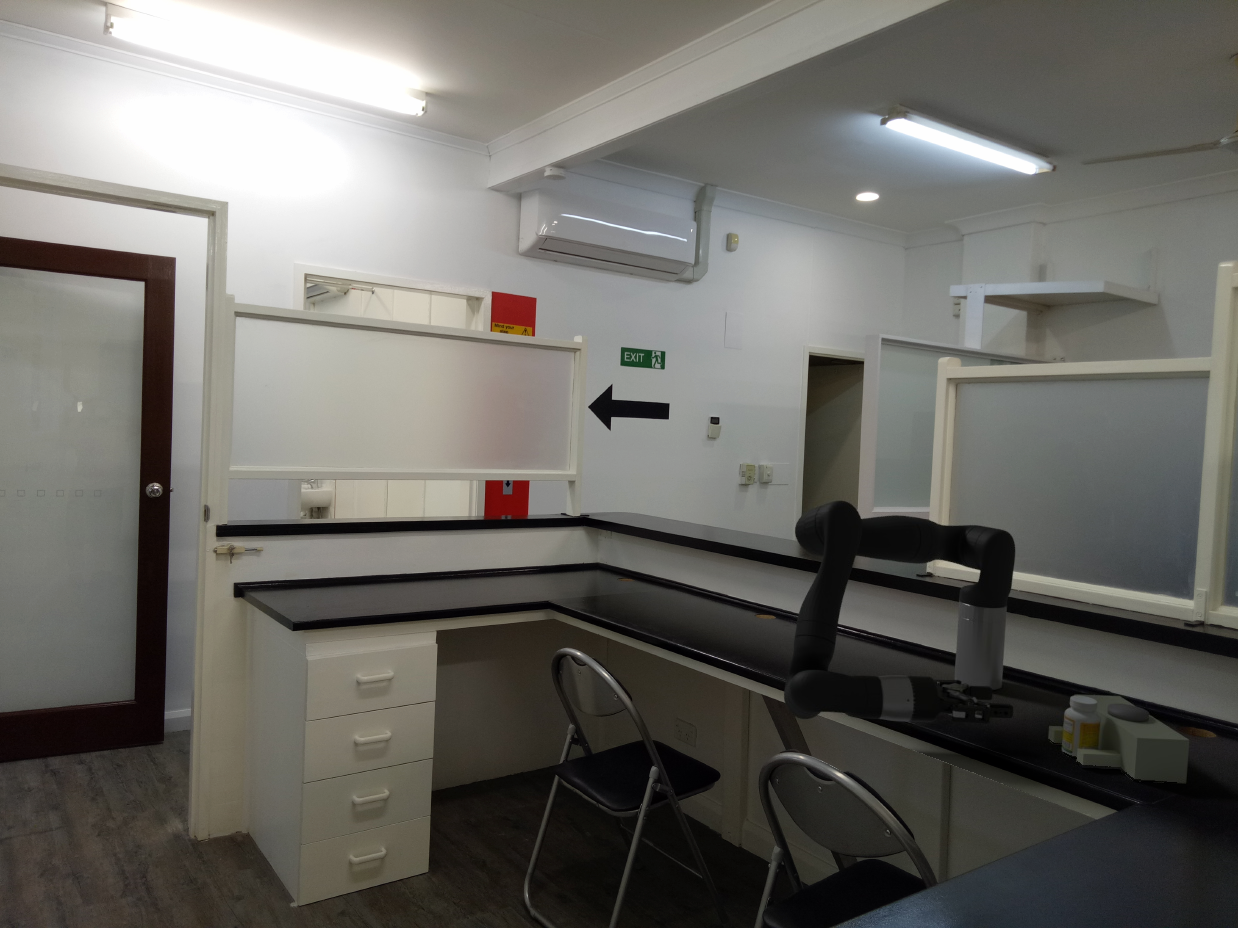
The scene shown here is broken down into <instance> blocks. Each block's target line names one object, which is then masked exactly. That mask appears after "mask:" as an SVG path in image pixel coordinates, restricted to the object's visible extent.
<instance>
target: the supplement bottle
mask: <svg viewBox="0 0 1238 928" xmlns="http://www.w3.org/2000/svg"><path fill="white" fill-rule="evenodd" d="M1069 705H1070V707H1068V708H1067V709H1066V710H1064V714H1063V726H1064V727H1063V740H1062V744H1061V752H1062V753H1063V752H1065V753H1067V754H1069V755H1072V756H1076V757H1077V749H1095V750H1098V746H1099V733H1100V720H1101V719H1100V716H1099V715H1098V714H1097V713H1096V712H1095V711H1096V709H1097V701H1096V700H1095V699H1092V698H1089V697H1085V696H1074V695H1072V696H1070V699H1069Z"/></svg>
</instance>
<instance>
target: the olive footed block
mask: <svg viewBox="0 0 1238 928" xmlns="http://www.w3.org/2000/svg"><path fill="white" fill-rule="evenodd" d="M1073 696H1085V697H1089V698H1092V699H1095V700H1096V701H1097V709H1096V711H1095V712H1096V713H1097V714H1098V715H1099V716H1100V719H1101V720H1100V733H1099V746H1098V750H1095V749H1077V759H1076V762H1077V761H1078V762H1080V763H1081V764H1082V765H1093V766H1095V765H1096V766H1108V767H1109V766H1111V767H1121V768H1122V769H1123V770H1124V771H1125V772H1127V774H1129V775H1130V776H1131V777H1133V778H1134V779H1141V780H1155V781H1167V782H1177V783H1176V784H1187V777H1188V776H1187V774H1188V764H1189V750H1190V739H1189V738H1187V737H1185V736H1183V734H1180V733H1179V732H1178V731H1176V730H1175V729H1172V728H1171V727H1170V726H1168V725H1166V724H1165V723H1163V722H1162V721H1160V720H1159V719H1156V718H1155V717H1154V716H1152V715H1150V712H1149V711H1148V710H1146V709H1145V708H1142V707H1139V706H1136V705H1134V704H1133V703H1131V702H1130V701H1128V700H1126V699H1125V698H1123V697H1122V696H1120V695H1102V694H1101V695H1099V694H1097V695H1094V694H1074V695H1073ZM1063 727H1064V725H1063V726H1060V725H1049V727H1048V738H1047V739H1050V740H1051V741H1052V742H1054V743H1062V740H1063ZM1051 741H1050V742H1051ZM1052 742H1051V743H1052Z"/></svg>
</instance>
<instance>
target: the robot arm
mask: <svg viewBox="0 0 1238 928" xmlns="http://www.w3.org/2000/svg"><path fill="white" fill-rule="evenodd" d="M794 535H795V538H796V540H797V543H798V544H799V546H800V547H801V548H802V549H804V550H803V551H806V552H807V553H809V554H811V555H813V556H816V557H822V560H821V563H820V565H819V566H820V567H819V569H818V571H817V573H816V575H815V578H814V580H813V582H812V584H811V585H810V587H809V590H808V591H807V593H806V595H805V597H804V599H803V601H802V604H801V606H800V608H799V612H798V614H797V615H798V616H797V620H796V627H795V633H794V639H793V650H792V657H791V661H790V665H789V667H788V668H789V669H788V672H787V677H786V681H785V685H784V690H783V691H784V692H783V698H784V704H785V706H786V708H787V709H786V710H787V711H788V712H789V713H790V714H791V715H792V716H794V717H795V718H797V719H800V720H809V719H810V720H811V719H813V718H815V717H817V716H818V715H820V714H821V713H839V714H842V713H843V714H845V715H846V716H848V717H851V718H856V719H857V718H858V719H874V720H875V719H876V720H877V719H878V720H885V721H886V720H887V721H893V722H910V723H911V722H915V723H933V722H935V721H936V720H937V718H938V716H939V714H940V713H943V714H946V715H949V716H951V721H952V722H955V723H956V722H957V723H971V724H972V723H973V724H990V723H991V718H993V719H994V718H995V719H1012V718H1013V715H1014V706H1013V705H1012V704H1011V703H1000V702H986V701H991V700H992V699H993V691H994V690H995V691H997V690H1000V689H1001V688H1002V687H1003V686H1002V685H1003V671H1004V657H1005V656H1004V655H1005V641H1006V640H1005V639H1006V626H1007V625H1006V624H1007V609H1008V599H1009V596H1010V593H1011V590H1012V586H1013V578H1014V576H1013V575H1014V569H1015V563H1016V562H1015V561H1016V544H1015V540H1014V538H1013V536H1012V534H1011V533H1010V532H1008V531H1007V530H1005V529H1000V528H996V527H992V526H991V527H990V526H984V525H978V524H963V525H948V524H947V525H944V524H940V523H937V522H935V521H933V520H930V519H927V518H922V517H916V516H909V515H901V514H900V515H899V514H898V515H897V514H893V515H884V516H883V515H882V516H873V517H864V518H861V514H860V512H859V511H858V509H857V508H856V507H855V506H854V505H853V504H852V503H850V502H848V501H845V500H835V501H830V502H828V503H825V504H822V505H819V506H816V507H814V508H811V509H810V510H807V511H806V512H805V513H803V514H802V515H801V516H800V517H799V518H798V520H797V522H796V524H795V528H794ZM856 557H861V558H862V557H863V558H869V559H874V560H883V561H892V562H897V563H906V564H917V565H918V564H923V565H924V564H928V563H931V562H933V561H942V562H943V561H944V562H949V563H953V564H957V565H960V566H963V567H965V568H969V569H973V570H978V571H979V576H978V580H977V582H976V583H974V584H969V585H964V586H962V587H961V588H959V589H960V590H959V595H958V614H957V615H958V616H957V619H958V620H957V632H956V633H957V635H956V650H955V651H956V652H955V662H954V663H955V664H954V666H955V667H954V679H934V678H933V677H932V676H930V675H929V676H927V675H924V676H923V675H900V674H899V675H898V674H897V675H894V674H891V675H887V674H886V675H848V674H845V673H840V672H835V671H829V666H830V664H831V661H832V660H833V657H834V654H835V649H836V642H837V635H838V628H839V626H838V625H839V620H840V614H841V608H842V603H843V600H844V595H845V592H846V589H847V586H848V582H849V580H850V579H849V578H850V576H851V573H852V569H853V566H854V563H855V558H856Z"/></svg>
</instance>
